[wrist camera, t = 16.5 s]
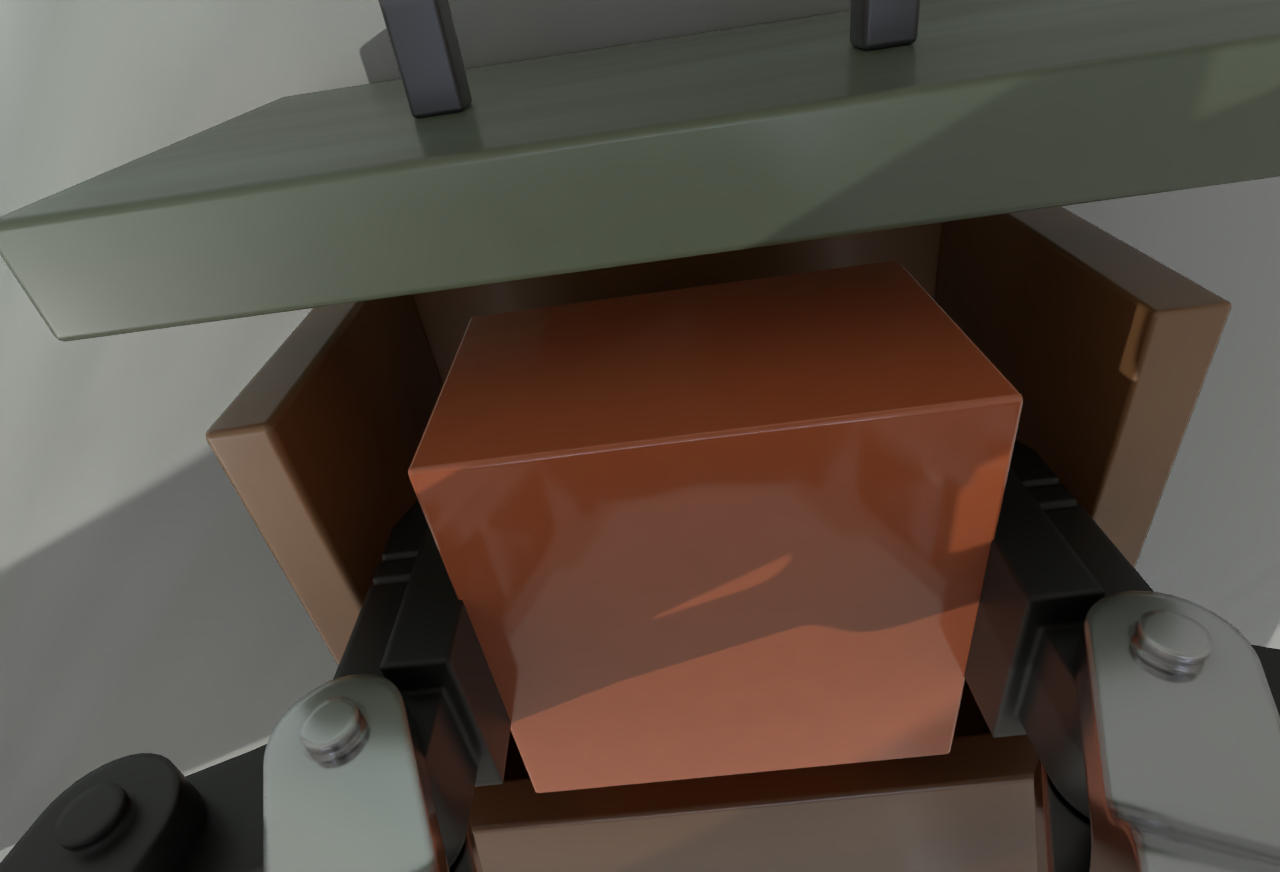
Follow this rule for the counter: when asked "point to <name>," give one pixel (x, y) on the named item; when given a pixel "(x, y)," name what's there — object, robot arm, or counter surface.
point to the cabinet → (780, 818)
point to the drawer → (681, 228)
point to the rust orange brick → (721, 522)
